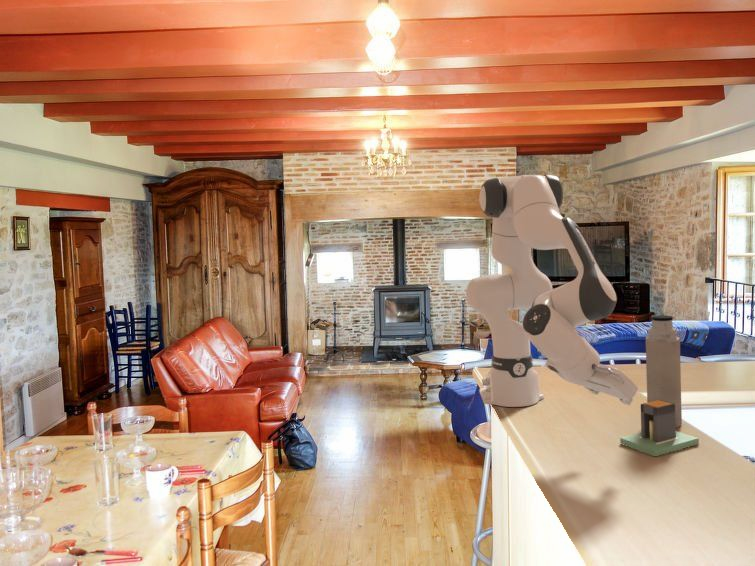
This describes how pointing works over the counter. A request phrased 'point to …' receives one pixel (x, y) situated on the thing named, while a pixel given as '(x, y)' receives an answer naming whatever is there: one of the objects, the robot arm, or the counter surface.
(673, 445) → the header board
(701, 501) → the counter surface
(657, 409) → the block
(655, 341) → the thermos bottle
